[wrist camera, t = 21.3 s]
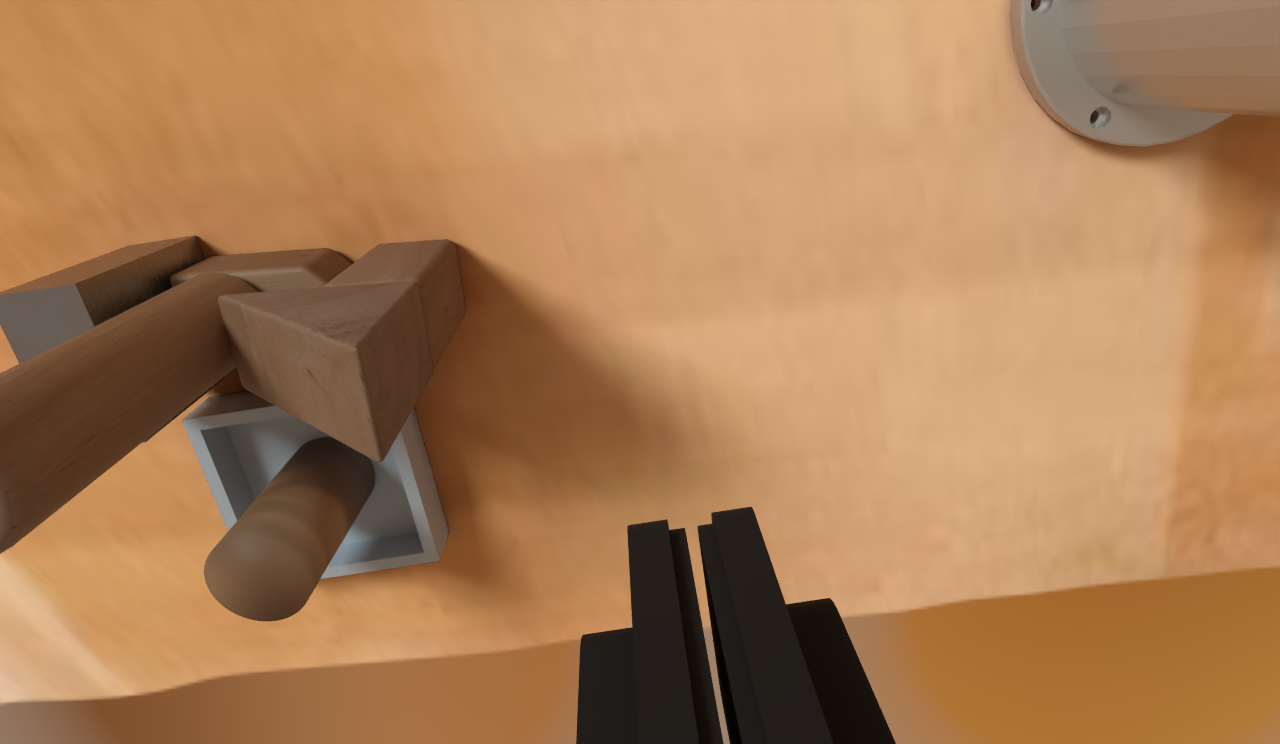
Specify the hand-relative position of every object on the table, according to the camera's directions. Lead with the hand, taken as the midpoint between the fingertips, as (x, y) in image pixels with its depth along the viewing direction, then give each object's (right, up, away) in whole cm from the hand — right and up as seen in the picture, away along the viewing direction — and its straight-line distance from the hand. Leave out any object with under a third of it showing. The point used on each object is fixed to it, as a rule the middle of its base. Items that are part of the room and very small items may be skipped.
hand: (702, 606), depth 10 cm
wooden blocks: (-14, +7, +24) cm, 28 cm away
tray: (-16, -2, +27) cm, 31 cm away
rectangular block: (-21, +6, +23) cm, 32 cm away
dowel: (-16, -2, +26) cm, 30 cm away
